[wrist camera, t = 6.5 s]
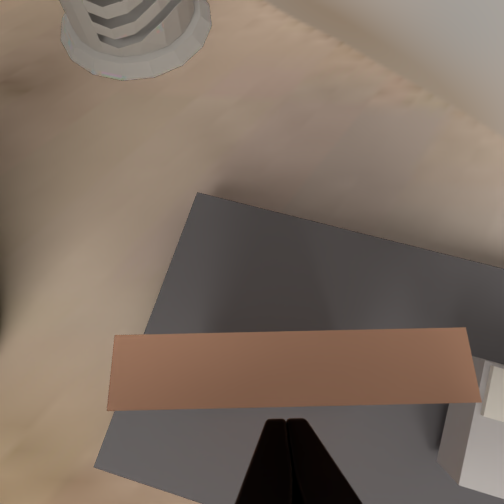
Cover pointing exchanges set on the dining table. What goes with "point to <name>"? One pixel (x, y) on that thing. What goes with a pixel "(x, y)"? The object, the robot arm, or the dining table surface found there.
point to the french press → (133, 35)
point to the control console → (305, 319)
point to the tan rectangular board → (292, 369)
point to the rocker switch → (477, 434)
